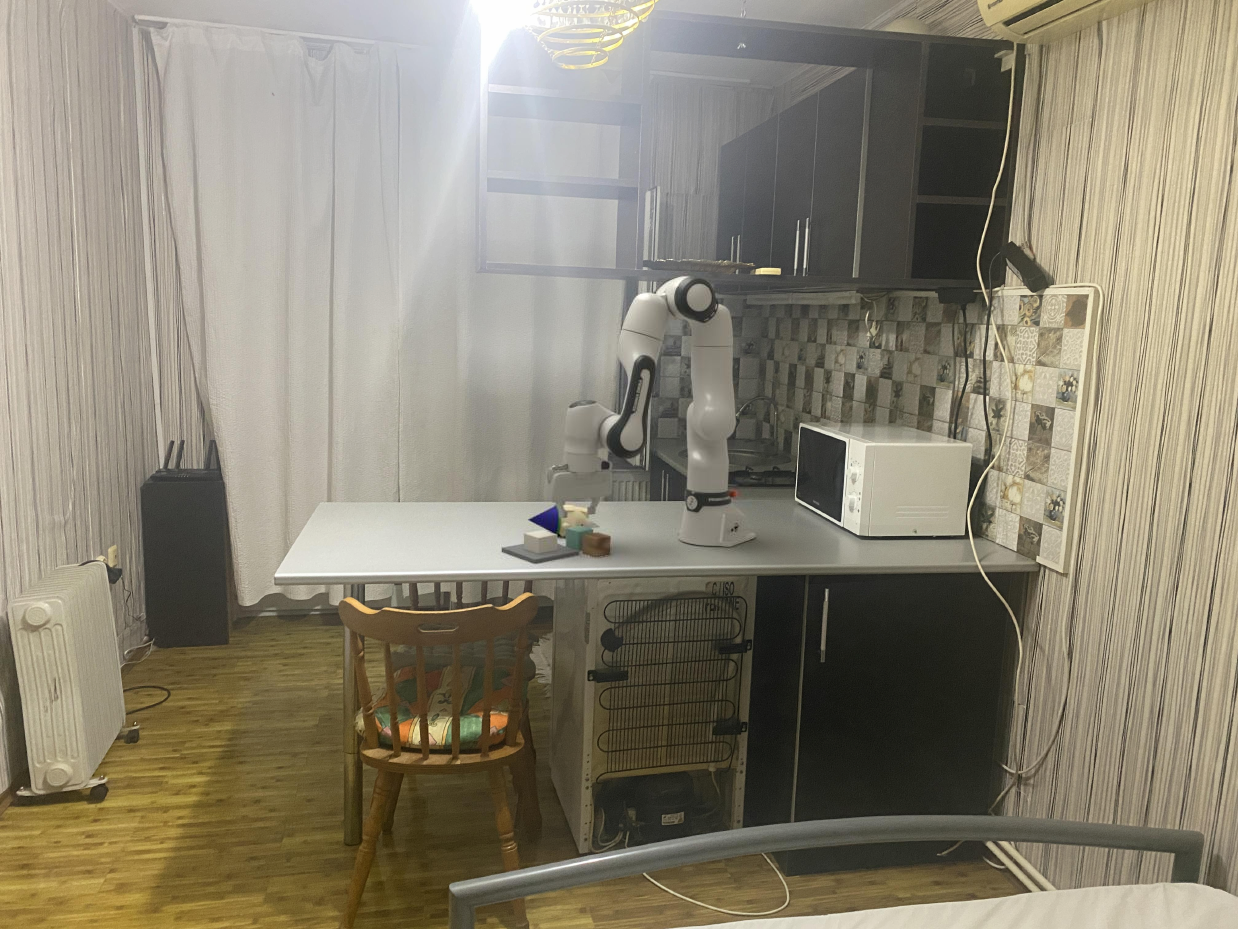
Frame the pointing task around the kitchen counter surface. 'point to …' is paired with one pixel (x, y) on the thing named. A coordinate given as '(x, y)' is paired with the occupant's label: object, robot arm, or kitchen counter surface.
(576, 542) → the teal block
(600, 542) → the walnut block
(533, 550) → the build board
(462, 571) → the kitchen counter surface
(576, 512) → the cartoon head
